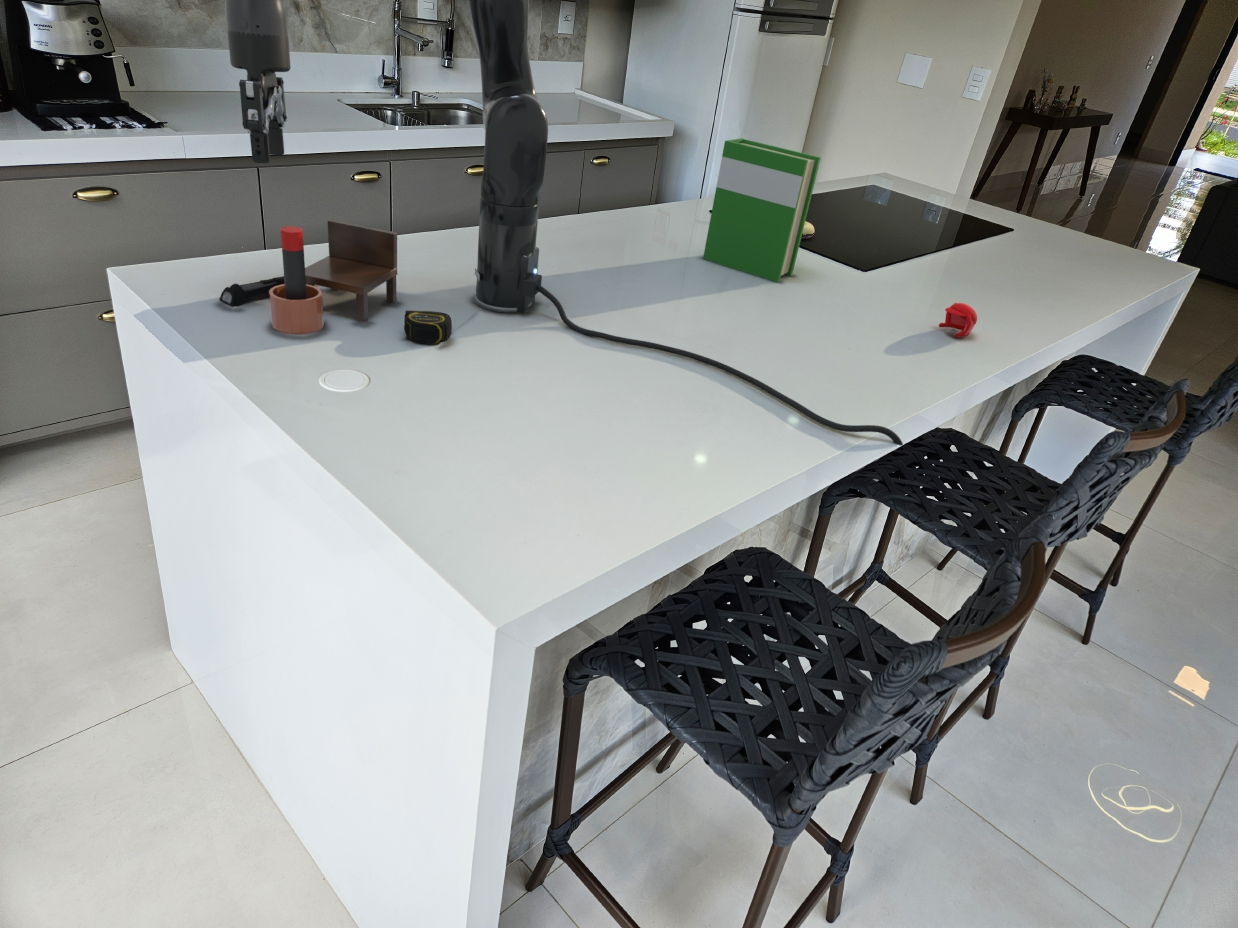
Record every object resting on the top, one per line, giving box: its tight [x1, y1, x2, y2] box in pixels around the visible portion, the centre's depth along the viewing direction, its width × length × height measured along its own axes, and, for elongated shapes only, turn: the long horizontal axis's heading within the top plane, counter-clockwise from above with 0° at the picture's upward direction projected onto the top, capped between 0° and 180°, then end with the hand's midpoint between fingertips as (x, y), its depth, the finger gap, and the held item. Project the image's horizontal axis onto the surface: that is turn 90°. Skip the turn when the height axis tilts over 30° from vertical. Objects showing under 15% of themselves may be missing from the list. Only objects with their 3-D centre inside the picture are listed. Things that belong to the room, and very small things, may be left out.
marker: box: [280, 226, 307, 300], centre depth 118 cm, size 3×3×14 cm
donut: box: [801, 220, 815, 240], centre depth 206 cm, size 10×5×9 cm
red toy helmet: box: [938, 302, 978, 339], centre depth 157 cm, size 8×6×6 cm
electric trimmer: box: [219, 275, 316, 308], centre depth 129 cm, size 4×16×3 cm, turn 142°
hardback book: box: [702, 137, 822, 283], centre depth 172 cm, size 18×7×24 cm, turn 56°
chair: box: [305, 218, 398, 323], centre depth 128 cm, size 11×11×12 cm
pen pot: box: [268, 284, 325, 335], centre depth 120 cm, size 7×7×6 cm
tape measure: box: [403, 310, 453, 345], centre depth 123 cm, size 7×7×4 cm
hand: (269, 159), depth 119 cm, fingers open, 8 cm apart
